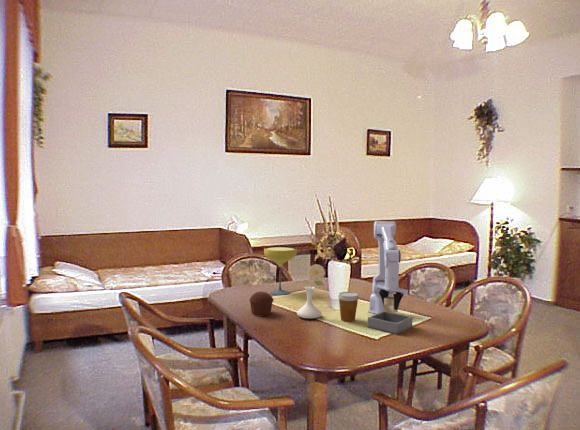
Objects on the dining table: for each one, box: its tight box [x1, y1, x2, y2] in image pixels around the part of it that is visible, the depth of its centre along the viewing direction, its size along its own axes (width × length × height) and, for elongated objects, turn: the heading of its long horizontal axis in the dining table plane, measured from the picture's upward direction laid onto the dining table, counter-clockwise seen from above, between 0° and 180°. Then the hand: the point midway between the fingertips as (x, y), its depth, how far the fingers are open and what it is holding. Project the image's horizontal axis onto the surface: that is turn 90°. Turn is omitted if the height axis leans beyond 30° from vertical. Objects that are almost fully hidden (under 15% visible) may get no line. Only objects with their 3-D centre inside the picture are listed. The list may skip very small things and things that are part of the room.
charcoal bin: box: [367, 311, 414, 336], centre depth 208 cm, size 14×14×4 cm
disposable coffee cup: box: [337, 291, 360, 323], centre depth 218 cm, size 10×10×12 cm
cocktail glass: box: [263, 245, 298, 296], centre depth 266 cm, size 18×18×25 cm
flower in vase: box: [296, 263, 326, 319], centre depth 221 cm, size 13×11×25 cm
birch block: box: [384, 296, 399, 314], centre depth 208 cm, size 4×4×6 cm
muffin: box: [249, 291, 274, 317], centre depth 227 cm, size 12×11×10 cm
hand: (390, 308), depth 208 cm, fingers closed on birch block, 4 cm apart
